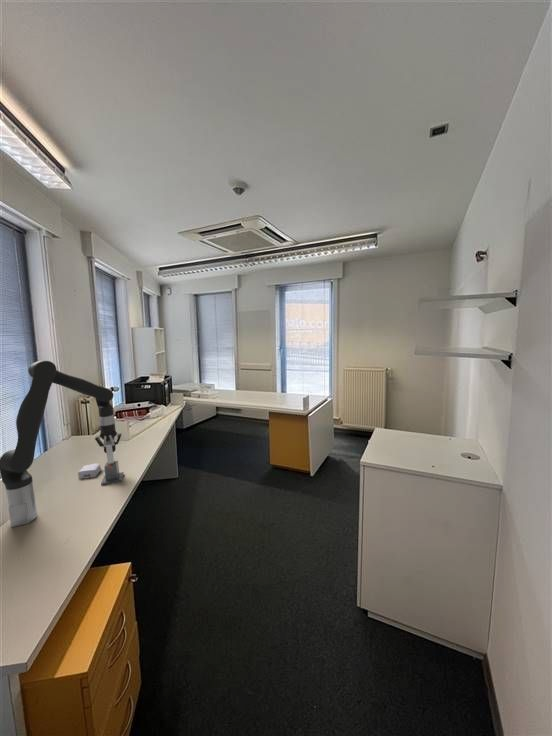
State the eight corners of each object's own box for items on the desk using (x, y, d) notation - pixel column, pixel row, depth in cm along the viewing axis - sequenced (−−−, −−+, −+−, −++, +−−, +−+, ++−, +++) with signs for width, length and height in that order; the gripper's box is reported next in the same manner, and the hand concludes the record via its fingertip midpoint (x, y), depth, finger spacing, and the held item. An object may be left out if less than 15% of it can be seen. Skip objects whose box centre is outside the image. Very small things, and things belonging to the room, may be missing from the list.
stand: (121, 482, 165) (119, 465, 164) (101, 485, 162) (99, 468, 160) (123, 474, 174) (122, 458, 173) (105, 477, 171) (103, 461, 170)
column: (114, 469, 166) (111, 441, 164) (108, 470, 165) (105, 441, 163) (115, 466, 169) (112, 439, 167) (109, 467, 168) (106, 440, 166)
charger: (104, 466, 187) (96, 477, 172) (88, 468, 184) (78, 479, 170) (103, 459, 186) (95, 469, 172) (87, 461, 184) (77, 471, 170)
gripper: (91, 426, 158) (94, 456, 160) (119, 423, 163) (122, 452, 165) (94, 423, 165) (97, 451, 167) (122, 419, 170) (124, 447, 172)
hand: (110, 451), depth 166 cm, fingers closed on column, 3 cm apart
